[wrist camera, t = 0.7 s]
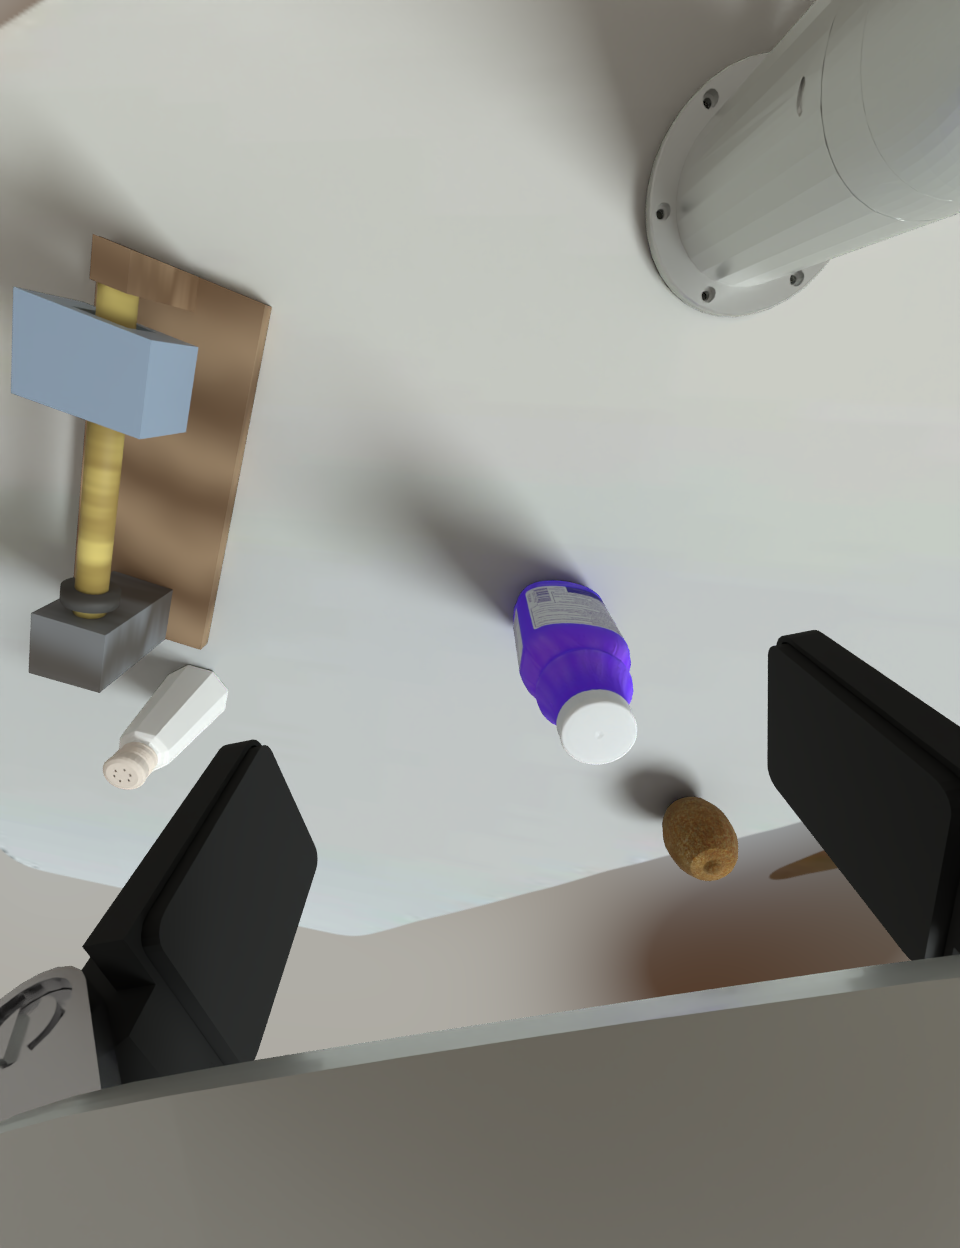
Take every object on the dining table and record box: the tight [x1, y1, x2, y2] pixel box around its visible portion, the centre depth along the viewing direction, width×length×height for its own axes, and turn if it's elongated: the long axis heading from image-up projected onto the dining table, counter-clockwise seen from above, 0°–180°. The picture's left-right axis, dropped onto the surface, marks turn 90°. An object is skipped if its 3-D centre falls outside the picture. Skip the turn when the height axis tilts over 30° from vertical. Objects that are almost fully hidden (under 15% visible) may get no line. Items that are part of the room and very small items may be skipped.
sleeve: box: [11, 287, 198, 439], centre depth 29 cm, size 5×6×5 cm
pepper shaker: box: [103, 665, 228, 790], centre depth 41 cm, size 5×5×11 cm
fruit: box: [662, 796, 738, 881], centre depth 49 cm, size 6×6×8 cm
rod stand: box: [29, 234, 272, 693], centre depth 34 cm, size 26×10×10 cm, turn 159°
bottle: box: [513, 580, 637, 764], centre depth 36 cm, size 7×6×17 cm
